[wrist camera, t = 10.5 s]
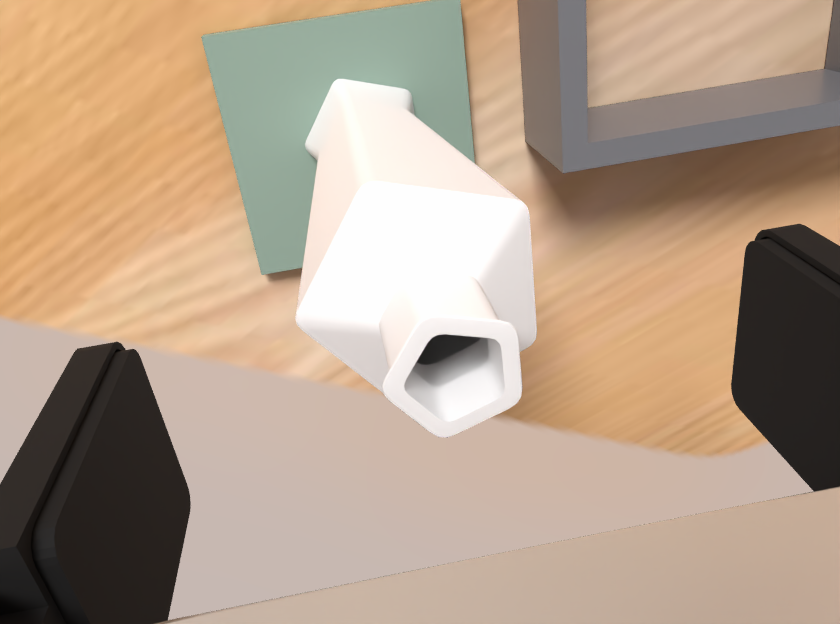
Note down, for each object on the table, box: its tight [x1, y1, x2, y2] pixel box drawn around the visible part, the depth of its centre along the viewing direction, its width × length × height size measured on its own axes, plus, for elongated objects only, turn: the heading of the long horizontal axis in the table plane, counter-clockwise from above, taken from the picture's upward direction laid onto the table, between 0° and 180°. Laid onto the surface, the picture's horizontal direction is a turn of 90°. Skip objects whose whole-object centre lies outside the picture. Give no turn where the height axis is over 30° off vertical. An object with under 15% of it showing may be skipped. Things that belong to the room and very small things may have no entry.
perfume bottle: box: [295, 79, 537, 438], centre depth 17 cm, size 5×4×15 cm
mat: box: [201, 0, 475, 275], centre depth 24 cm, size 8×8×1 cm
